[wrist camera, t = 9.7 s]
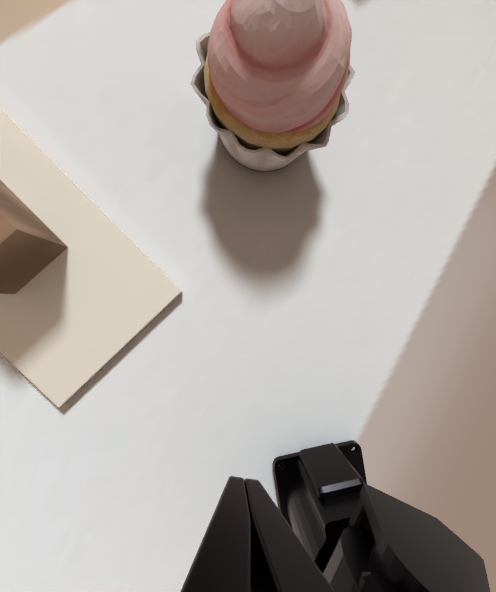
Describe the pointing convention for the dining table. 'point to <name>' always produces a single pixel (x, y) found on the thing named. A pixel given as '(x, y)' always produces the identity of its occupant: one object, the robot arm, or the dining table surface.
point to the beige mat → (72, 279)
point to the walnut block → (23, 243)
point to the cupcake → (275, 77)
